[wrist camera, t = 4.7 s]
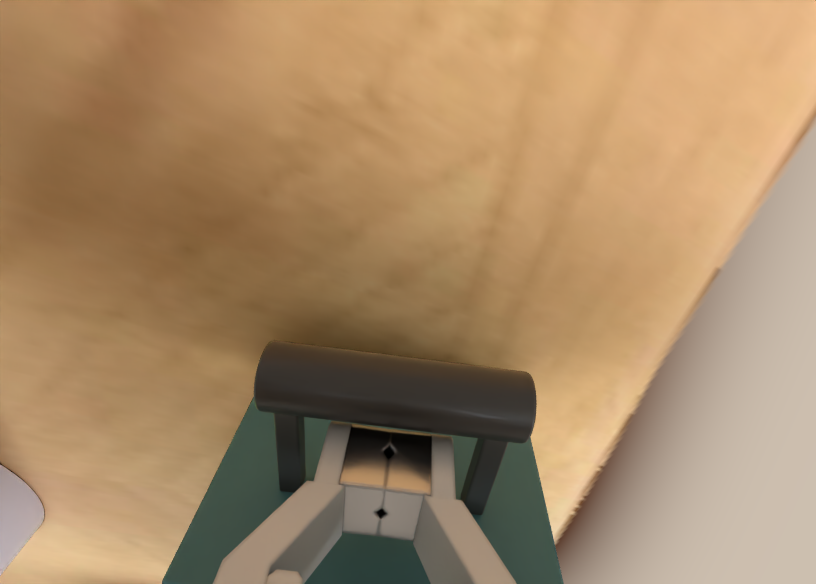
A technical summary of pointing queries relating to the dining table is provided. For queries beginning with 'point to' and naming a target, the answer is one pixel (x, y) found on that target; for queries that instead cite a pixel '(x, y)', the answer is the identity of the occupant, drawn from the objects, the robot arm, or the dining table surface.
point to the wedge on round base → (16, 515)
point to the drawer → (384, 408)
